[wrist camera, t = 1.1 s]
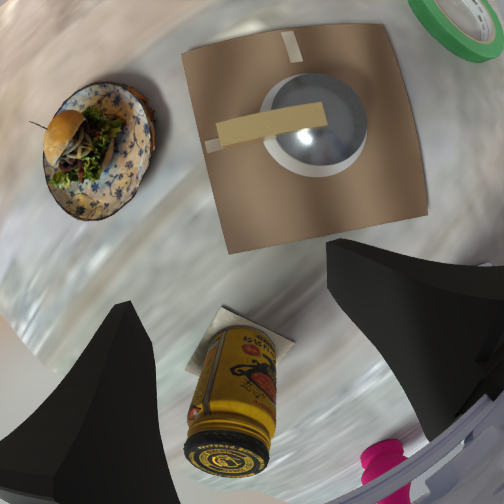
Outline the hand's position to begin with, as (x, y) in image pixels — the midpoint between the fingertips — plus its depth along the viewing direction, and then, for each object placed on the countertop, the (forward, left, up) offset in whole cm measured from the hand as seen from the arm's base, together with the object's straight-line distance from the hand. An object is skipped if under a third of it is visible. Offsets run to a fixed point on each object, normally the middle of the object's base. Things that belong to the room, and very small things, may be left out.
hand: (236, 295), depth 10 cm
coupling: (-4, -6, -10) cm, 13 cm away
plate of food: (+11, -9, -12) cm, 19 cm away
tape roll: (-24, -17, -12) cm, 32 cm away
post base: (-6, -6, -12) cm, 15 cm away
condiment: (+4, +12, -12) cm, 17 cm away
